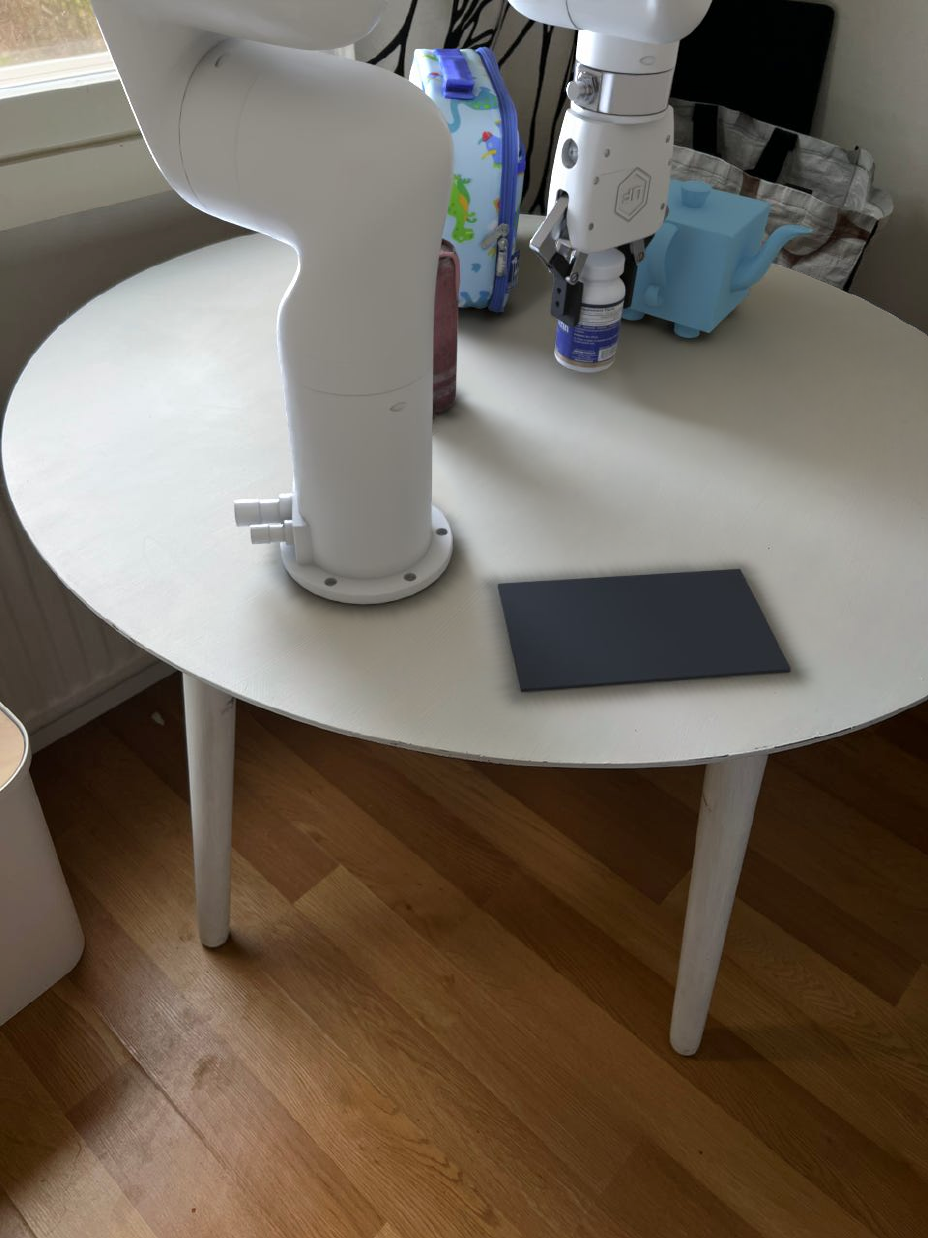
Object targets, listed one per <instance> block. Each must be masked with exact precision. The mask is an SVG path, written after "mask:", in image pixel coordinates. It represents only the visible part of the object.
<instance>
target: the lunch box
mask: <svg viewBox="0 0 928 1238" xmlns="http://www.w3.org/2000/svg"><path fill="white" fill-rule="evenodd" d="M408 78H409V79H408V80H409V81H411V82H412V83H414V84H415V85H417V86H418V87H419V88H421V89H422V90H423V91H424V92H425V93H426V94H427V95H428V96H429V97H430V98H431V99H432V100H433V101H434V102H435V104H436V105H437V106H438V107H439V109H440V110H441V112H442V114H443V115H444V117H445V119H446V121H447V124H448V126H449V129H450V132H451V135H452V140H453V145H454V158H455V164H454V178H453V185H452V191H451V197H450V202H449V207H448V212H447V217H446V221H445V226H444V231H443V236H442V238H443V239H445V240H447V241H449V242H451V243H452V244H453V245H454V247H455V251H456V253H457V255H458V258H459V261H460V287H459V302H458V308H464V309H466V308H470V307H471V308H476V309H480V310H481V309H484V308H487V310H488V311H490V312H494V313H504V311H505V306H506V304H507V301H508V299H509V296H510V293H511V292H513V291H515V290H516V289H517V287H518V279H519V271H520V261H521V250H522V249H521V248H519V249H517V250H516V246H517V237H518V229H519V221H520V212H521V203H522V202H521V201H522V195H523V193H522V192H523V187H524V186H523V185H524V175H525V170H526V163H527V162H526V153H527V152H526V148H525V146H524V144H523V141H522V138H521V136H520V133H519V132H520V129H519V128H518V126H519V124H518V122H519V121H518V114H517V109H516V106H515V103H514V101H513V99H512V97H511V96H510V93H509V91H508V89H507V86H506V85H505V82H504V79H503V77H502V74H501V71H500V68H499V64H498V61H497V58H496V56H495V53H494V51H493V50H492V49H490V48H489V47H486V46H483V47H478V48H477V49H475V50H474V49H472V48H463V49H460V48H434V49H430V48H417V49H415V50H414V53H413V60H412V64H411V69H410V72H409V77H408Z"/></svg>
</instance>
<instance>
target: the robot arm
mask: <svg viewBox="0 0 928 1238" xmlns="http://www.w3.org/2000/svg"><path fill="white" fill-rule="evenodd" d="M507 1H508V3H509V4H510V5H511V6H512V7H513V8H514V10H516V11H517V12H518V13H520V14H521V15H522V16H524V17H526V18H527V19H529V20H532V21H535V22H537V23H541V24H545V25H549V26H554V27H558V28H564V29H571V30H575V31H576V30H577V31H578V34H577V43H576V44H577V45H576V52H575V53H576V54H575V64H574V74H573V80H571V81H570V82H568V84H567V87H566V95H567V98H568V100H569V101H570V108H567V109H566V112H565V114H564V117H563V122H562V126H561V130H560V133H559V137H558V142H557V146H556V149H555V150H556V151H555V156H554V160H553V161H554V162H553V167H552V172H551V177H550V178H551V179H550V185H549V192H548V201H547V211H546V212H547V213H546V217H545V218H544V220H543V221H542V223H541V225H540V226H539V227H538V229H537V231H536V232H535V234H534V235H533V236H532V238H531V240H530V242H529V248H530V249H531V251H532V252H533V253H534V254H535V255H536V256H537V257H538V258H539V259H540V260H541V262H542V263H543V264H544V266H545V267H546V268H547V269H548V273H550V274H551V275H553V281H552V288H551V298H550V308H549V313H550V316H551V317H552V318H554V319H556V320H557V321H558V320H559V321H561V322H563V323H564V324H566V325H568V326H570V327H575V326H577V325H578V323H579V318H580V311H581V303H582V296H583V288H584V285H583V284H584V283H582V282H580V281H578V280H579V278H580V275H581V273H582V270H583V267H584V265H585V262H586V259H587V257H588V254H592V253H597V252H600V251H604V250H607V249H611V248H615V249H617V250H619V251H620V252H622V253H623V255H624V257H625V263H624V271H623V273H622V274H621V275H620V276H619V278H620V279H621V280H622V281H623V283H624V285H625V299H624V304H623V309H626V308H629V307H631V304H632V298H633V292H634V286H635V280H636V274H637V269H638V266H637V264H640V263H641V262H642V261H643V260H644V258H645V249H646V247H647V246H648V245H649V243H650V242H651V241H652V239H653V238H654V236H655V233H656V232H657V231H658V230H659V229H660V228H661V226H662V224H663V221H664V220H665V219H666V217H667V216H668V214H669V208H668V206H667V199H668V192H669V185H670V179H671V177H672V166H673V159H674V157H673V155H674V143H675V142H674V141H675V140H674V139H675V119H674V118H675V116H674V107H672V105H670V98H671V92H672V86H673V82H674V77H675V76H674V75H675V69H676V64H677V59H678V52H679V47H680V42H681V40H682V39H684V38H686V37H687V36H689V35H690V34H691V33H692V32H693V31H694V30H695V29H696V28H697V27H698V26H699V25H700V24H701V22H702V21H703V19H704V18H705V16H706V14H707V13H708V11H709V9H710V6H711V4H712V2H713V0H507ZM388 2H389V0H88V3H89V5H90V7H91V10H92V12H93V15H94V17H95V19H96V22H97V25H98V28H99V31H100V32H101V35H102V37H103V40H104V43H105V45H106V48H107V50H108V53H109V55H110V57H111V60H112V62H113V65H114V67H115V70H116V72H117V75H118V77H119V80H120V82H121V85H122V87H123V90H124V92H125V95H126V97H127V100H128V102H129V104H130V107H131V110H132V113H133V114H134V117H135V120H136V122H137V124H138V126H139V130H140V131H141V134H142V136H143V139H144V141H145V144H146V145H147V148H148V150H149V152H150V154H151V155H152V158H153V160H154V162H155V164H156V166H157V167H158V169H159V171H160V172H161V174H162V176H163V177H164V178H165V180H166V182H167V183H168V184H169V186H170V187H171V188H172V189H173V190H174V192H176V193H177V195H178V196H180V197H181V198H182V200H184V201H185V202H186V203H188V204H190V205H191V206H192V207H193V208H196V209H198V210H199V211H202V212H204V213H206V214H208V215H209V216H212V217H215V218H218V219H220V220H221V221H225V222H228V223H230V224H234V225H237V226H240V227H242V228H245V229H248V230H251V231H254V232H257V233H260V234H262V235H266V236H269V237H270V238H272V239H274V240H277V241H280V242H282V243H284V244H287V245H289V246H291V247H292V248H293V249H294V250H295V251H296V253H297V259H298V263H297V268H296V272H295V273H294V276H293V279H292V280H291V283H290V284H289V286H288V287H287V290H286V291H285V293H284V294H283V297H282V299H281V301H280V304H279V308H278V312H277V317H276V343H277V352H278V360H279V365H280V373H281V378H282V379H281V381H282V389H283V398H284V403H285V404H284V406H285V413H286V422H287V430H288V438H289V447H290V455H291V463H292V473H293V479H292V492H289V493H280V494H279V495H278V498H277V499H276V498H275V499H261V498H256V499H255V498H253V499H235V500H234V503H233V510H234V520H235V526H236V527H237V528H241V527H242V528H243V527H249V529H250V542H251V544H252V545H266V544H267V545H268V544H272V543H279V546H280V553H281V559H282V563H283V565H284V569H285V570H286V571H287V573H288V575H290V577H291V579H293V580H294V581H295V582H296V583H297V584H298V585H300V586H301V587H302V588H303V589H305V590H306V591H309V592H311V593H312V594H314V595H316V596H318V597H322V598H325V599H327V600H329V601H335V602H339V603H344V604H355V605H373V604H384V603H389V602H393V601H398V600H401V599H405V598H407V597H410V596H413V595H414V594H417V593H419V592H421V591H423V590H424V589H427V587H429V586H430V585H431V584H433V583H434V582H435V581H437V580H438V579H439V578H440V576H441V575H442V574H443V573H444V572H445V571H446V569H447V567H448V565H449V563H450V561H451V560H452V555H453V550H454V534H453V529H452V526H451V523H450V521H449V520H448V518H447V516H446V515H445V514H444V513H443V511H441V509H440V508H439V507H438V506H436V505H435V504H434V503H433V425H434V424H433V421H434V420H433V418H434V417H433V331H434V301H435V288H436V276H437V268H438V260H439V253H440V247H441V242H442V236H443V231H444V226H445V221H446V217H447V212H448V207H449V202H450V197H451V191H452V185H453V178H454V164H455V158H454V145H453V140H452V135H451V132H450V129H449V126H448V124H447V121H446V119H445V117H444V115H443V114H442V112H441V110H440V109H439V107H438V106H437V105H436V104H435V102H434V101H433V100H432V99H431V98H430V97H429V96H428V95H427V94H426V93H425V92H424V91H423V90H422V89H421V88H419V87H418V86H417V85H415V84H414V83H412V82H411V81H409V79H407V78H405V77H404V76H402V75H399V74H397V73H395V72H393V71H391V70H389V69H387V68H384V67H380V66H378V65H375V64H372V63H368V62H365V61H359V60H357V59H356V60H355V59H352V58H347V57H343V56H339V55H334V54H330V53H326V52H323V51H329V50H336V49H342V48H345V47H349V46H351V45H353V44H354V43H357V42H358V41H360V40H362V39H364V38H365V37H367V36H368V35H369V34H370V33H371V32H372V31H373V30H374V29H375V27H376V26H377V25H378V23H379V22H380V20H381V18H382V17H383V15H384V13H385V11H386V9H387V7H388ZM321 51H322V52H321ZM570 249H571V250H572V251H573V250H575V252H574V255H573V257H572V260H571V259H570V260H571V263H570V261H568V259H567V257H568V255H569V251H570Z"/></svg>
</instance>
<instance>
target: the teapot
mask: <svg viewBox="0 0 928 1238" xmlns="http://www.w3.org/2000/svg"><path fill="white" fill-rule="evenodd" d="M667 206H668V208H669V214H668V216H667V217H666V219H665V220H664V221H663V224H662V226H661V228H660V229H659V230H658V231H657V232H656V233H655V236H654V238H653V239H652V241H651V242H650V243H649V245H648V246H647V247H646V249H645V258H644V260H643V261H642V262H641V263H640V264H637V266H638V269H637V274H636V280H635V286H634V292H633V298H632V304H631V307H629V308H626V309H623V310H622V316H621V319H625V320H628V321H640V320H642V319H643V318H644V317H645V314H646V315H650V316H652V317H656V318H659V319H662V320H665V321H670V322H672V323H674V327H673V331H674V332H673V333H675V334H676V335H677V336H679V337H682V338H686V339H693V338H694V339H695V338H696V337H699V335H700V332H701V331H702V332H705V333H707V334H710V333H711V332H712V331H713V330H715V328H716V327H717V326H718V325H719V324H720V323H721V322H722V321H724V320H725V318H726V317H727V316H728V315H730V314H731V312H732V311H734V309H735V308H737V307H738V305H740V304H741V303H742V302H743V301H744V300H745V299H746V298H747V297H748V296H749V292H750V288H751V287H753V286H754V285H755V284H757V283H758V282H759V281H761V280H762V279H763V277H764V276H765V275H766V273H767V272H768V271H769V269H770V268H771V266H772V264H773V262H774V261H775V259H776V257H777V256H778V254H779V252H780V251H781V250H782V249H783V247H784V246H785V245H786V244H787V243H788V242H790V241H791V240H792V239H794V238H797V237H799V236H803V235H807V234H811V233H813V231H814V230H813V229H812V228H810V227H806V226H802V225H797V224H785V225H781V226H780V227H778V228H776V229H775V230H774V231H773V232H772V233H771V234H770V235H769V236H768V237H767V240H766V241H765V242H764V243H763V246H762V241H763V238H764V235H765V230H766V226H767V222H768V218H769V215H770V211H771V206H772V204H771V203H770V202H768V201H763V200H759V199H756V198H752V197H748V196H744V195H739V194H736V193H732V192H727V191H723V190H719V189H715V188H713V186H712V185H711V184H709V183H707V182H705V181H701V180H694V179H693V180H692V179H691V180H685V181H682V180H678V179H675V178H674V179H673V178H670V185H669V192H668V199H667ZM761 246H762V247H761Z"/></svg>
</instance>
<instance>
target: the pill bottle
mask: <svg viewBox="0 0 928 1238" xmlns="http://www.w3.org/2000/svg"><path fill="white" fill-rule="evenodd" d="M574 252H575V250H573V249H572V252H571V254H570V260H569V263H571V260H572V257H573V255H574ZM624 263H625V257H624V255H623V253H622V252H620V251H619V250H617V249H615V248H611V249H607V250H604V251H600V252H597V253H592V254H588V257H587V259H586V262H585V265H584V267H583V270H582V273H581V275H580V278H579V280H578V281H580V282H582V283H584V284H583V285H584V288H583V296H582V303H581V311H580V318H579V323H578V325H577V326H575V327H570V326H568V325H566V324H564V323H563V322H561V321H559V320H558V319H557V326H556V328H557V329H556V336H555V345H554V357H555V359H556V361H557V362H558V364H560V365H561V366H562V367H565V369H569V370H571V371H574V372H579V373H587V374H589V373H597V372H598V373H599V372H601V371H604V370H607V369H608V368H610V367H611V366H612V365H613V363H614V361H615V359H616V355H617V348H618V340H619V334H620V328H621V321H622V317H621V316H622V310H623V304H624V299H625V285H624V283H623V281H622V280H621V279H620V278H619V276H620V275H621V274H622V273H623V271H624Z"/></svg>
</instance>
